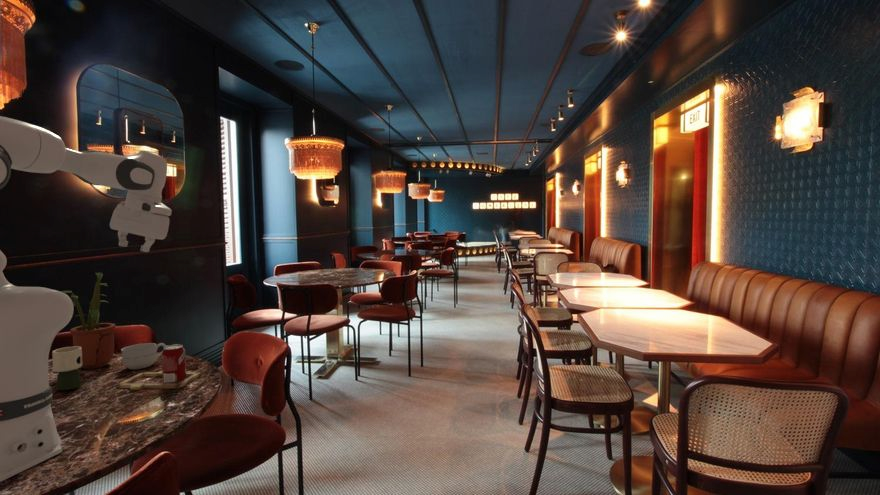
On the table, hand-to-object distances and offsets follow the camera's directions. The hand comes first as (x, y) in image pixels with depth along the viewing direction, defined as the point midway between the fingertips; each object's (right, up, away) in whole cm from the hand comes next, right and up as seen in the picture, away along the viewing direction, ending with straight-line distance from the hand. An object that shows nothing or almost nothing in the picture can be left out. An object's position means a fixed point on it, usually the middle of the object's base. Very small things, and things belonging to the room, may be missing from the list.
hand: (133, 249), depth 131 cm
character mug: (-25, -45, +7) cm, 52 cm away
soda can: (+5, -45, +13) cm, 47 cm away
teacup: (-16, -44, +28) cm, 55 cm away
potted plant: (-35, -44, +26) cm, 62 cm away
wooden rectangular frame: (0, -45, +13) cm, 47 cm away
